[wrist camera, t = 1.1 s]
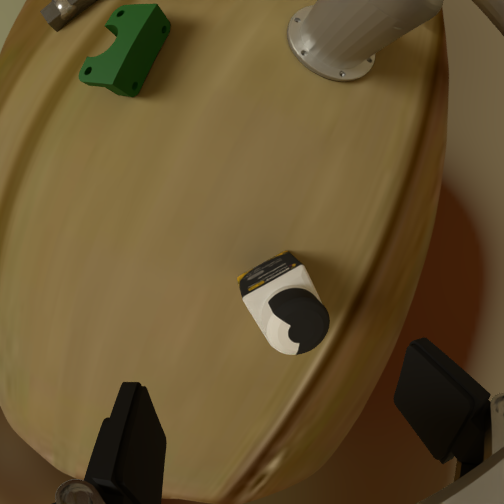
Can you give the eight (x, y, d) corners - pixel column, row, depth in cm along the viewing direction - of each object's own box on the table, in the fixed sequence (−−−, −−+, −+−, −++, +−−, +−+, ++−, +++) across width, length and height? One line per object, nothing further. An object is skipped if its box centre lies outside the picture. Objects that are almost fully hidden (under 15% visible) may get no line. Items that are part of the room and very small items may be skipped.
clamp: (139, 47, 31) (126, -1, 22) (175, 50, 30) (165, -3, 22) (89, 105, 28) (61, 56, 19) (124, 111, 28) (98, 55, 19)
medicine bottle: (286, 248, 36) (321, 279, 24) (309, 294, 38) (347, 339, 26) (235, 276, 36) (247, 320, 24) (262, 321, 37) (282, 375, 26)
